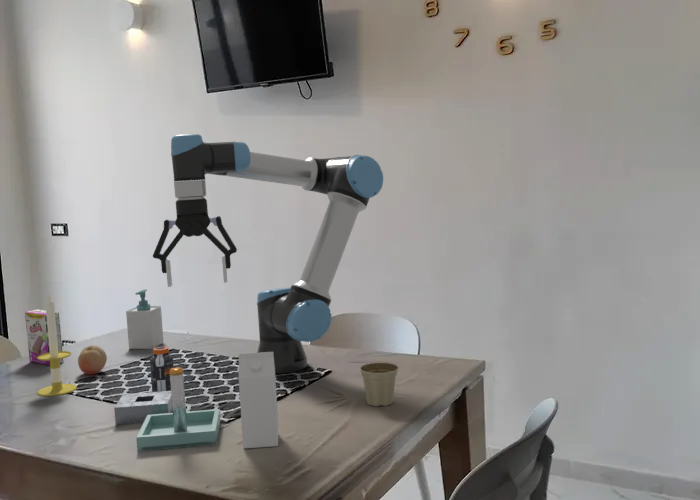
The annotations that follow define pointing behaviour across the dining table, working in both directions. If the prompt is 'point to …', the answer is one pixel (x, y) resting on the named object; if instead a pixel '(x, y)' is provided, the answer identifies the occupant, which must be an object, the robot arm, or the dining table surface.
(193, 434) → the tray
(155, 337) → the soap bottle
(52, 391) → the candle
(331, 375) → the dining table surface
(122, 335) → the dining table surface
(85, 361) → the fruit
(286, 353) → the robot arm
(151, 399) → the block
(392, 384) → the flower pot
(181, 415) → the pin
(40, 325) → the candy bar box
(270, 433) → the milk carton
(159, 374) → the pill bottle
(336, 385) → the dining table surface
